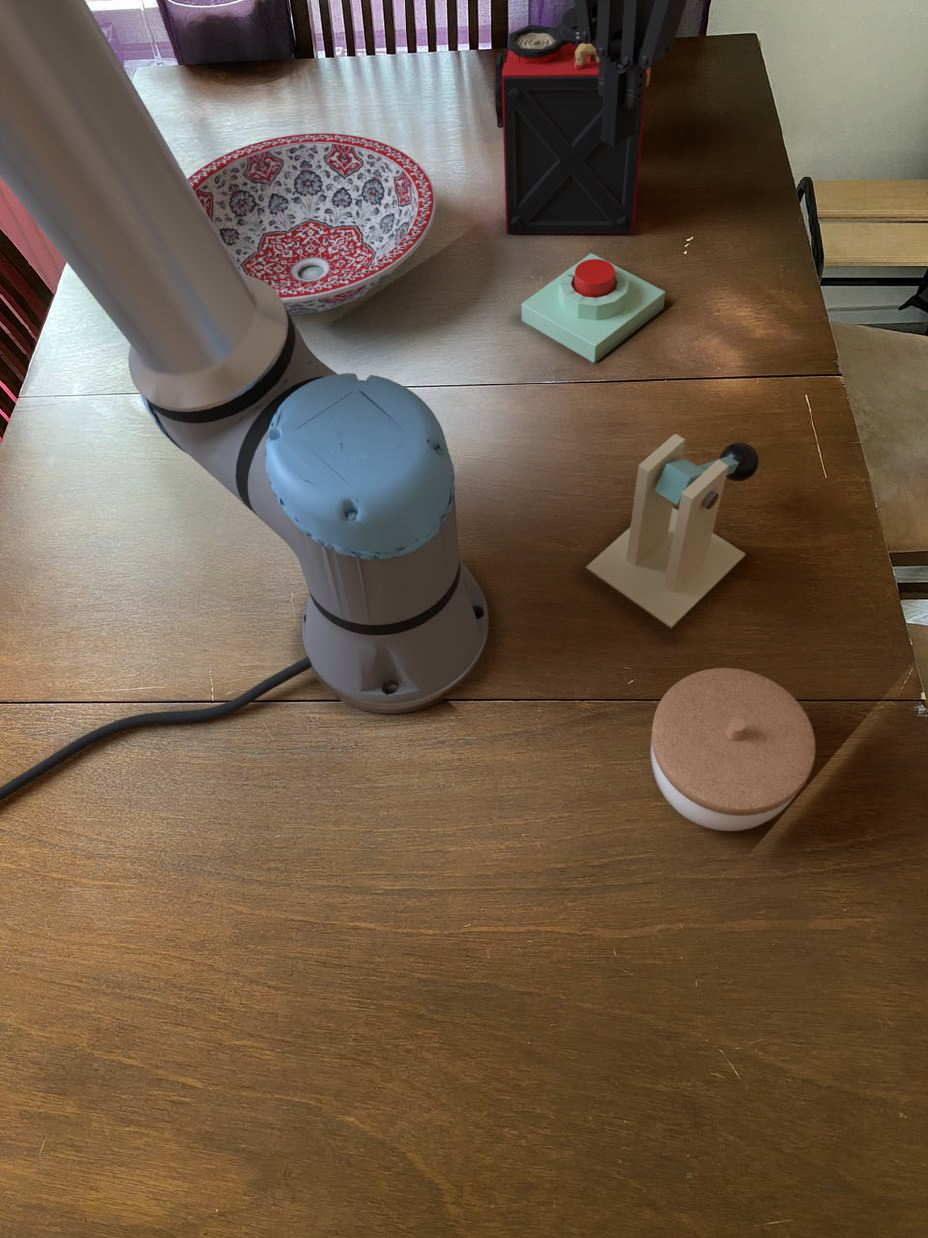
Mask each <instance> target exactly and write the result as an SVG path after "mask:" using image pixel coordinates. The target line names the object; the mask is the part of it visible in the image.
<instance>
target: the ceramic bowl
mask: <svg viewBox="0 0 928 1238" xmlns="http://www.w3.org/2000/svg"><path fill="white" fill-rule="evenodd" d="M187 180H188V181H189V183H190V185H191V187H192V188H193V190H194V192H195V194H196V195H197V197H198V199H199V201H200V202H201V204H202V206H203V208H204V209H205V211H206V213H207V215H208V216H209V218H210V220H211V222H212V223H213V225H214V227H215V229H216V230H217V232H218V234H219V236H220V237H221V239H222V241H223V243H224V244H225V246H226V248H227V250H228V251H229V253H230V255H231V257H232V258H233V260H234V262H235V264H236V265H237V267H238V269H239V271H240V272H241V274H243V275H249V276H252V277H255V278H257V279H259V280H261V281H263V282H265V283H267V284H268V285H270V286H271V287H272V288H273V289H274V290H275V291H276V292H277V294H278V295H279V297H280V298H281V300H282V301H283V303H284V305H285V307H286V309H287V311H288V312H289V314H290V315H306V314H313V313H319V312H324V311H329V310H332V309H336V308H338V307H341V306H344V305H347V304H349V303H352V302H354V301H356V300H358V299H359V298H361V297H364V296H365V295H367V294H368V293H370V292H371V291H373V290H374V289H376V288H377V287H378V286H379V285H381V284H382V283H383V282H384V281H386V279H388V278H389V277H390V276H391V274H393V272H395V270H397V268H398V267H399V266H400V265H401V264H402V263H404V262H405V261H406V260H407V259H408V258H409V257H410V256H412V254H414V252H416V250H418V248H419V247H420V246H421V245H422V243H423V242H424V241H425V239H426V237H427V236H428V235H429V232H430V230H431V228H432V226H433V223H434V220H435V216H436V212H437V195H436V190H435V188H434V185H433V182H432V180H431V178H430V177H429V174H427V171H426V170H425V169H424V168H423V167H422V166H421V165H420V163H418V162H417V161H416V160H415V159H414V158H412V157H411V156H410V155H408V154H406V153H405V152H404V151H402V150H400V149H399V148H396V147H394V146H392V145H390V144H387V143H384V142H381V141H378V140H375V139H372V138H368V137H364V136H358V135H352V134H344V133H331V132H330V133H329V132H328V133H327V132H322V133H321V132H315V133H314V132H313V133H300V134H291V135H285V136H279V137H274V138H269V139H265V140H261V141H257V142H254V143H251V144H248V145H245V146H242V147H240V148H237V149H235V150H232V151H230V152H228V153H225V154H223V155H221V156H219V157H217V158H215V159H212V161H210V162H208V163H207V164H205V165H203V166H202V167H200V168H199V169H197V170H196V171H195V172H194V173H192V174H191V175H190V176H189V177H187ZM310 266H318V267H320V268H321V269H322V270H323V272H322V274H321V275H320V276H318V277H316V278H314V279H303V278H301V277H299V272H300V271H302V269H304V268H306V267H310Z"/></svg>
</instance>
